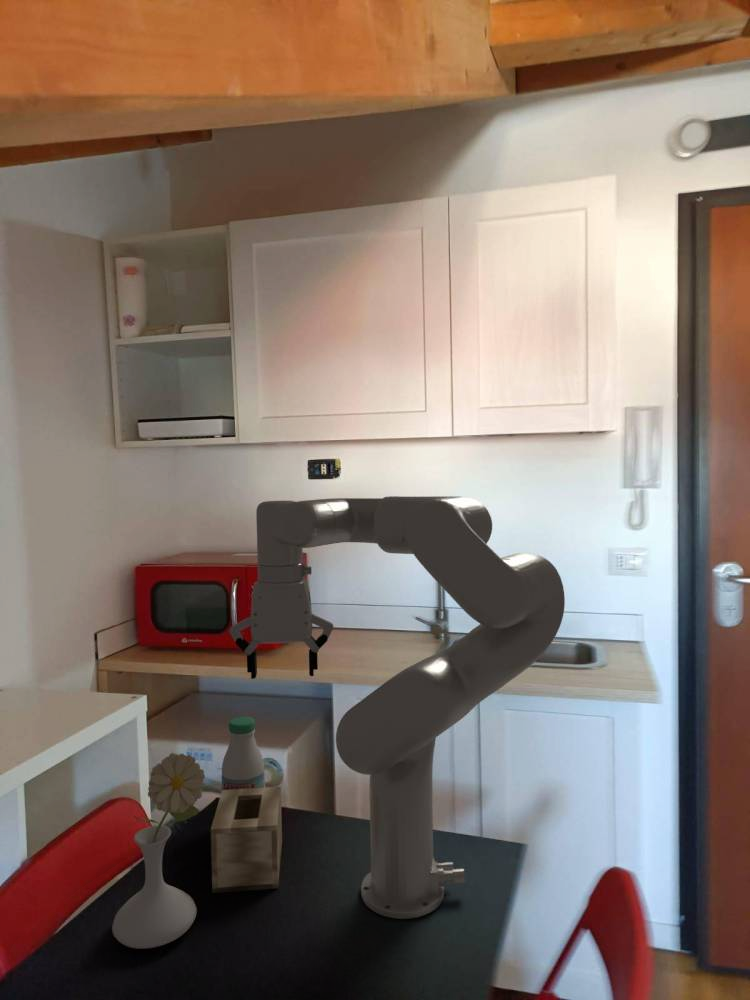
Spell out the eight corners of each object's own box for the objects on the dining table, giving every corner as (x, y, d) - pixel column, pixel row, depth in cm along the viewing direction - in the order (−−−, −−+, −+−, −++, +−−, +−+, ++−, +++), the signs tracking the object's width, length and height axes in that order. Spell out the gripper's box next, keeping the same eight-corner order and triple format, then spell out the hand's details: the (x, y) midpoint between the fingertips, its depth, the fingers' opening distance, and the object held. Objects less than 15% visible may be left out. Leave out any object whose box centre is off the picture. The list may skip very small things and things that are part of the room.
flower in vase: (108, 966, 89) (101, 779, 88) (116, 912, 100) (111, 745, 99) (210, 946, 93) (205, 766, 92) (207, 896, 104) (203, 735, 103)
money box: (282, 843, 118) (280, 786, 118) (278, 888, 106) (276, 825, 105) (223, 846, 118) (222, 790, 117) (212, 892, 105) (210, 829, 104)
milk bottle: (223, 820, 126) (220, 714, 126) (265, 816, 128) (263, 711, 127) (222, 843, 119) (218, 730, 118) (266, 837, 120) (263, 726, 119)
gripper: (331, 569, 119) (333, 666, 119) (230, 572, 117) (233, 671, 118) (332, 576, 111) (334, 679, 112) (225, 579, 110) (228, 684, 110)
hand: (282, 675), depth 115 cm, fingers open, 9 cm apart
